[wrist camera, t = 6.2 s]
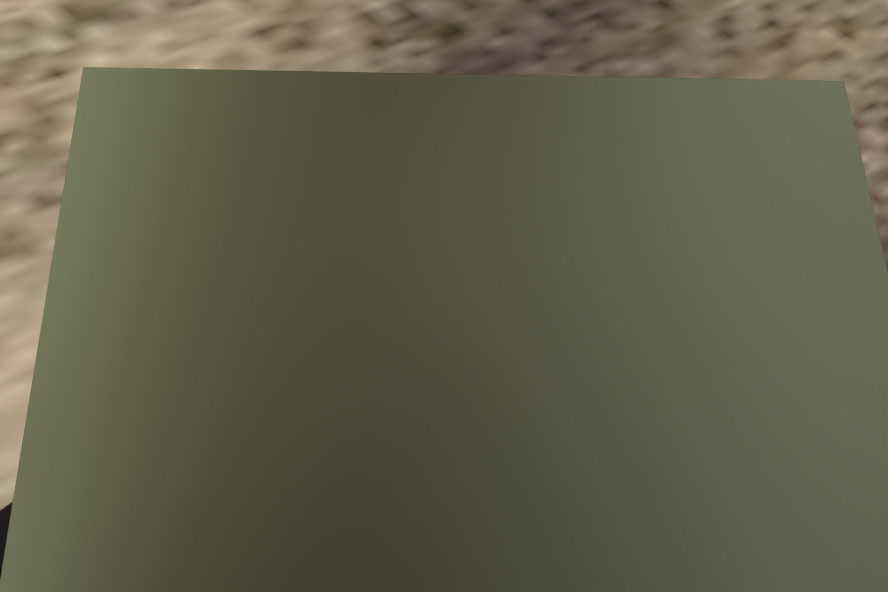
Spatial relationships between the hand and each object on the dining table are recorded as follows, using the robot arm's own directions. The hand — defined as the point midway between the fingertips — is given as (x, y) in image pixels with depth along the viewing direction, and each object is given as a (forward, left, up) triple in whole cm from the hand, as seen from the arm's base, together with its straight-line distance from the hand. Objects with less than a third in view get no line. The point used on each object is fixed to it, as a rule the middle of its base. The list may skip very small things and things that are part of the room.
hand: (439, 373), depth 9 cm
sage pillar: (-1, +1, -7) cm, 7 cm away
